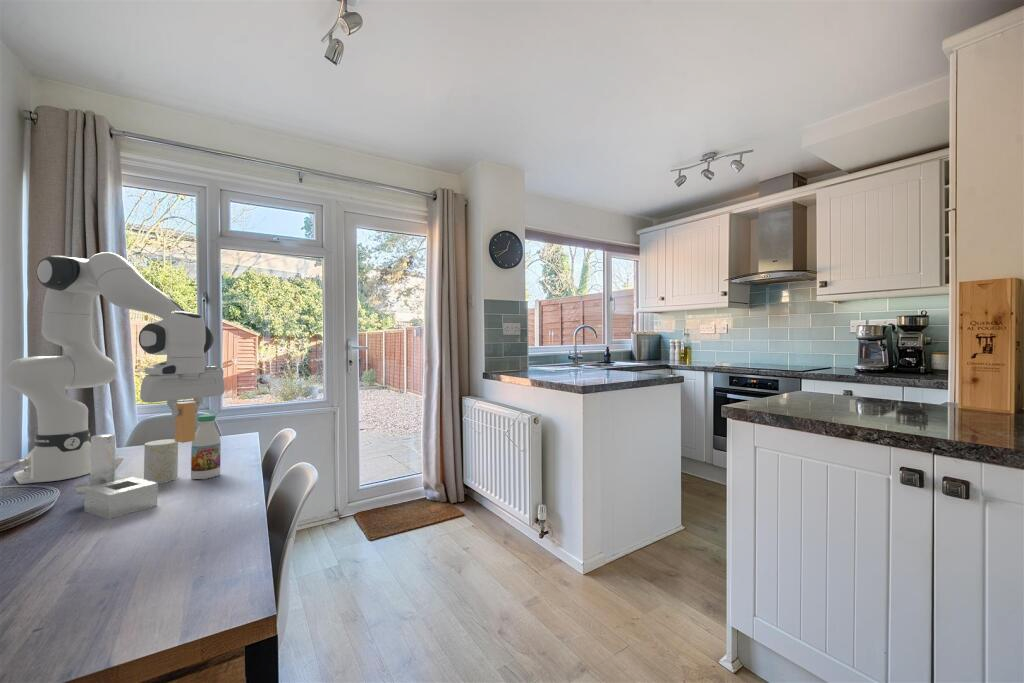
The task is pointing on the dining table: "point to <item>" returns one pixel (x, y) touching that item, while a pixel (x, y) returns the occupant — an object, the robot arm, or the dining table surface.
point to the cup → (161, 460)
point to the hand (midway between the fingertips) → (185, 414)
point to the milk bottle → (205, 449)
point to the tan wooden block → (185, 422)
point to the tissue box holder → (113, 484)
